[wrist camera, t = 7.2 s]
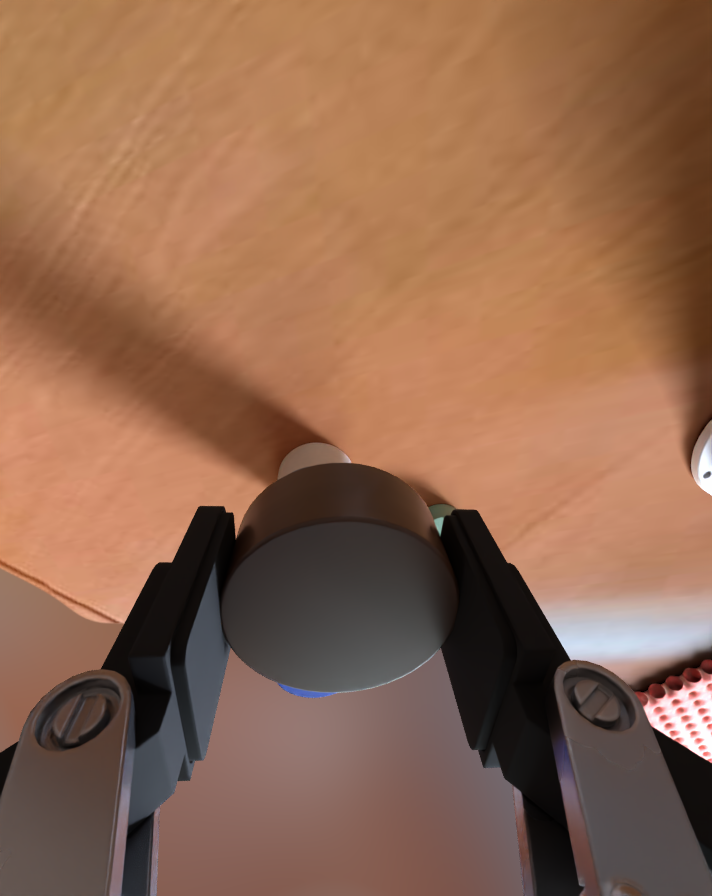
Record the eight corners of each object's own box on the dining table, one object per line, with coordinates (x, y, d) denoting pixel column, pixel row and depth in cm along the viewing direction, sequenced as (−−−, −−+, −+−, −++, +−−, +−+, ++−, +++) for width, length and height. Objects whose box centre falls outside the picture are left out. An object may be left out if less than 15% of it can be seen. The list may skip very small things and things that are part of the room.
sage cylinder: (448, 495, 42) (454, 508, 40) (469, 527, 44) (476, 541, 42) (405, 519, 43) (409, 532, 41) (428, 550, 45) (433, 564, 43)
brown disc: (371, 421, 9) (383, 470, 7) (467, 564, 11) (498, 634, 9) (194, 528, 10) (163, 599, 8) (313, 643, 12) (312, 720, 10)
